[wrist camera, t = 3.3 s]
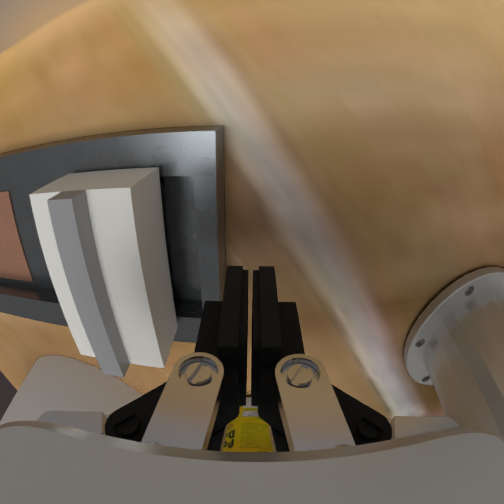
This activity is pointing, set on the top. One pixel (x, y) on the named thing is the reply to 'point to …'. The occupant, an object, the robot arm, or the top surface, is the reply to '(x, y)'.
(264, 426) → the supplement bottle
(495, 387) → the robot arm
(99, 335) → the slider knob
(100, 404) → the cylinder
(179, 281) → the dark grey tray
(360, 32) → the top surface
